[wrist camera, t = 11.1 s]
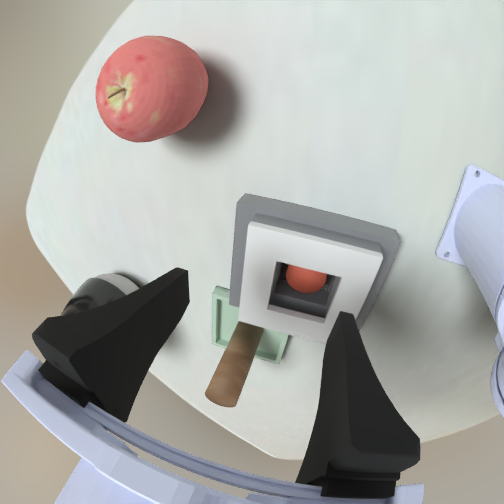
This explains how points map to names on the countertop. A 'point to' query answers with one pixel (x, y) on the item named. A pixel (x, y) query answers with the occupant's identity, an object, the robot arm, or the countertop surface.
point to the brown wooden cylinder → (234, 365)
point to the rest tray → (227, 322)
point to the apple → (151, 88)
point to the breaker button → (305, 279)
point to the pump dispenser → (99, 292)
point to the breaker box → (305, 265)
